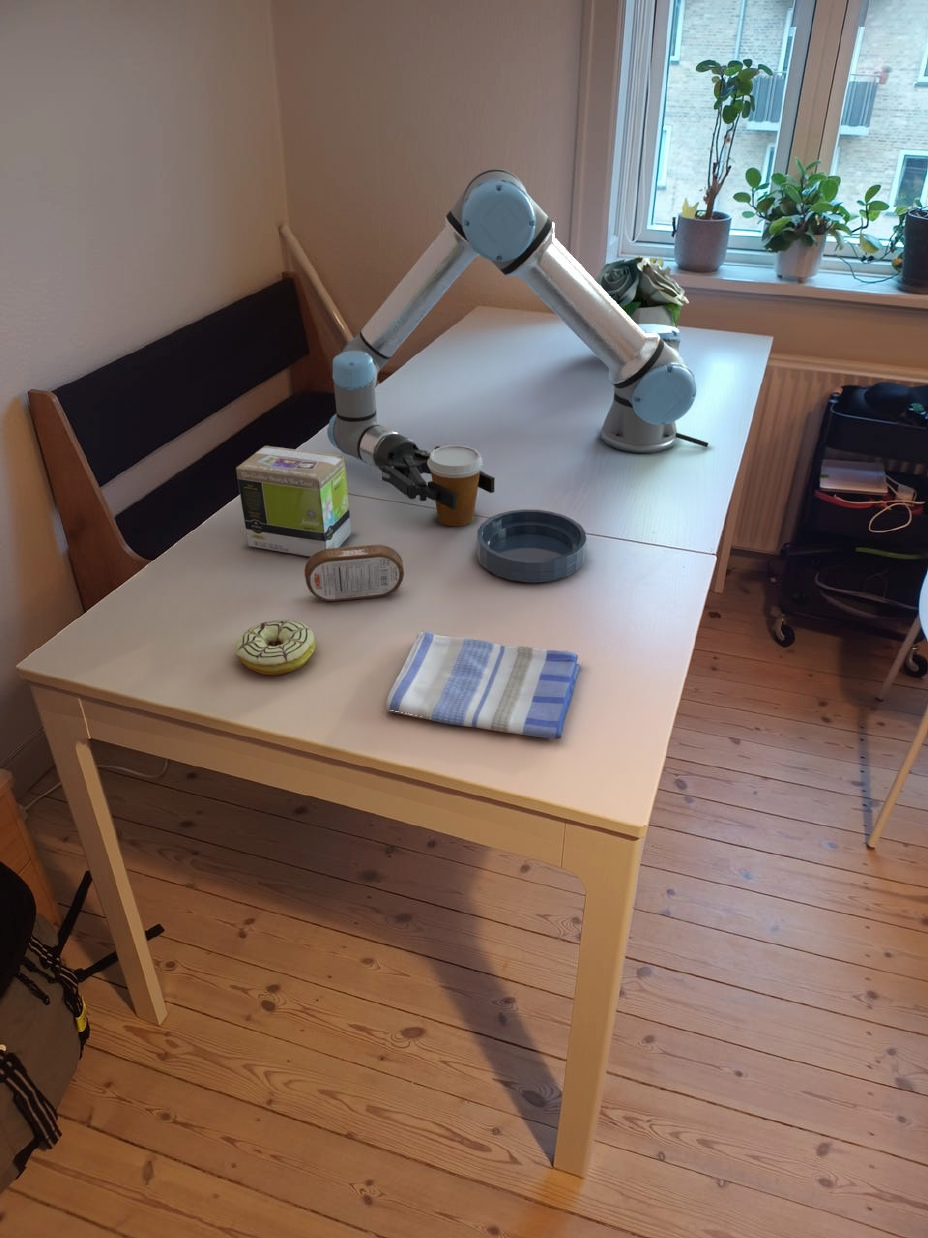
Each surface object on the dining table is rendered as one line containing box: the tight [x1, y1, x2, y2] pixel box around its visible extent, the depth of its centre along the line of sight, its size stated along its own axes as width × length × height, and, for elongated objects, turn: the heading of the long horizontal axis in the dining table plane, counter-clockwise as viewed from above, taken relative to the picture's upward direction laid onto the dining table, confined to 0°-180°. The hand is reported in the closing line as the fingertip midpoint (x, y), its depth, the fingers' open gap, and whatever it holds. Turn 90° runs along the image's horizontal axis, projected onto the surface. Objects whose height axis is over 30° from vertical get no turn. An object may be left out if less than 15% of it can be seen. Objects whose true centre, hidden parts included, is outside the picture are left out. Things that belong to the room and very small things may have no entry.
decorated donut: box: [234, 619, 316, 676], centre depth 131 cm, size 10×11×4 cm
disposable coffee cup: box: [427, 444, 484, 527], centre depth 163 cm, size 10×10×12 cm
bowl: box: [476, 508, 587, 583], centre depth 154 cm, size 18×18×4 cm
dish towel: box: [385, 630, 581, 740], centre depth 125 cm, size 17×24×3 cm
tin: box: [303, 544, 405, 602], centre depth 143 cm, size 15×3×8 cm, turn 100°
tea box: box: [235, 445, 352, 558], centre depth 155 cm, size 15×10×15 cm, turn 71°
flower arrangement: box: [593, 255, 690, 329], centre depth 229 cm, size 25×25×24 cm
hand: (474, 493), depth 159 cm, fingers closed on disposable coffee cup, 8 cm apart
